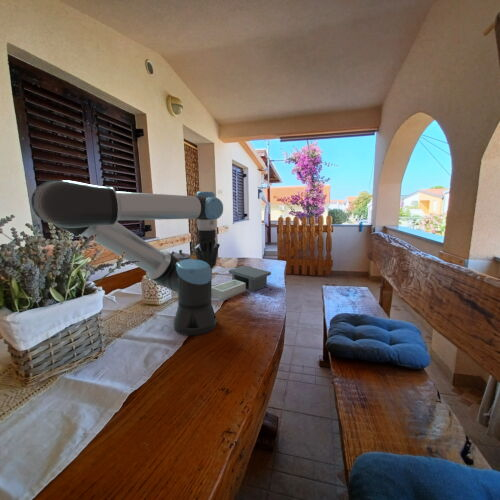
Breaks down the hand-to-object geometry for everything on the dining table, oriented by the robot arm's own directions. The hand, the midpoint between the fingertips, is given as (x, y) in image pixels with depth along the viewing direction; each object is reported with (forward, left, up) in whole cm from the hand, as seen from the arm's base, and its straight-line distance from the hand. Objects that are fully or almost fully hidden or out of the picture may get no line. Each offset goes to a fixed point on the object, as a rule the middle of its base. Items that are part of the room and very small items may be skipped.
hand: (207, 282), depth 111 cm
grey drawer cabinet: (+29, 0, -9) cm, 31 cm away
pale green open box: (+13, 0, -9) cm, 16 cm away
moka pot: (+1, +23, -9) cm, 25 cm away
